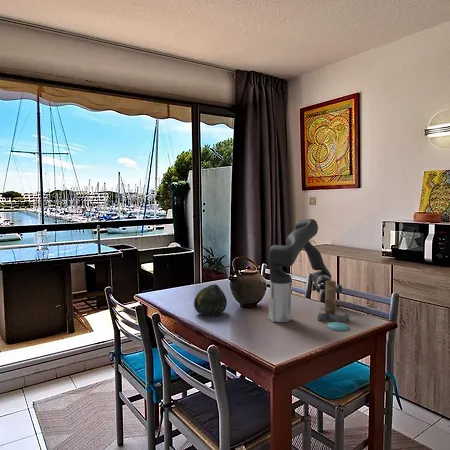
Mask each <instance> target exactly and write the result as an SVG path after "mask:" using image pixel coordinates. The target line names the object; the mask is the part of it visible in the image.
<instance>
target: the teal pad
mask: <svg viewBox="0 0 450 450" xmlns="http://www.w3.org/2000/svg"><path fill="white" fill-rule="evenodd" d="M327 329H329V330H333V331H336V332H339V331H340V332H345V331H348V330H349V325H348V324H347V323H345V322H340V323H339V322H334V321H331V322H329V323H328V324H327Z"/></svg>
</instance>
